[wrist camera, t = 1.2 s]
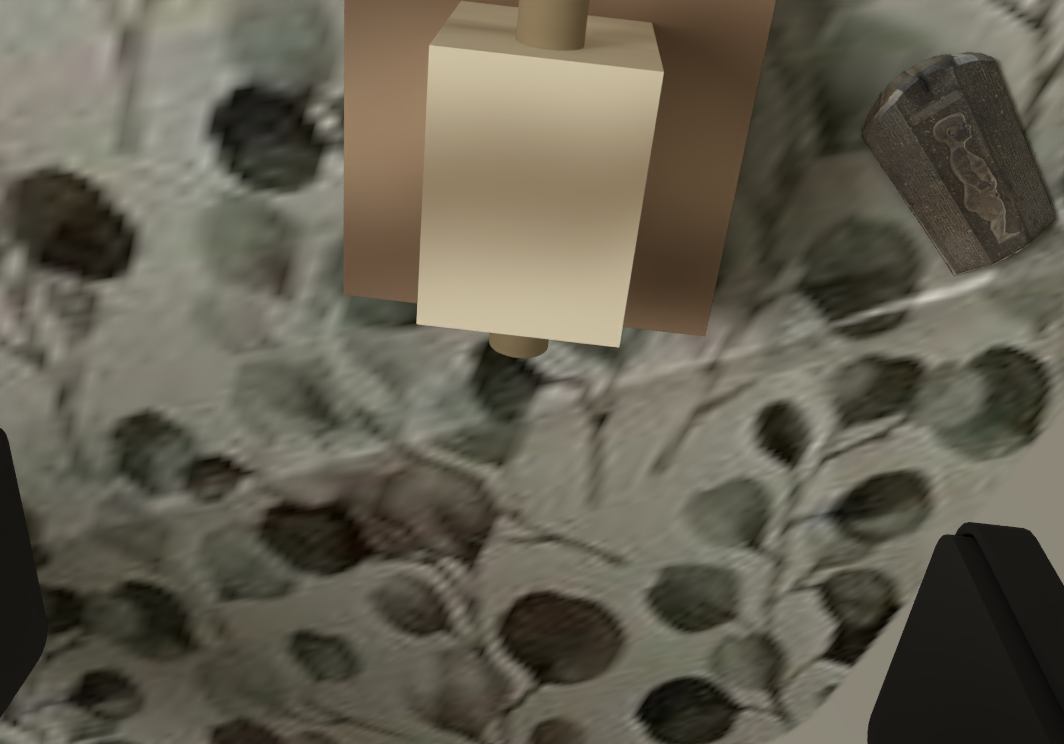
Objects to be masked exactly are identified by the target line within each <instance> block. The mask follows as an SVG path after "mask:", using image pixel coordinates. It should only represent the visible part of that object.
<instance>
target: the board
mask: <svg viewBox="0 0 1064 744" xmlns="http://www.w3.org/2000/svg"><path fill="white" fill-rule="evenodd" d="M461 1H467V2H476V3H485V4H494V5H502V6H511V7H519V0H345V10H344V295H351V296H360V297H368V298H377V299H386V300H394V301H403V302H412V303H418V282H419V260H420V237H421V215H422V193H423V171H424V148H425V126H426V104H427V82H428V59H429V45H430V43H431V42H432V40H433V39H434V38H435V36H436V35H437V33H438V32H439V31H440V29H441V28H442V27H443V25H444V24H445V22H446V21H447V20H448V18H449V17H450V15H451V14H452V13H453V11H454V10H455V8H456V7H457V6H458V4H459V3H460V2H461ZM775 3H776V0H590V2H589V10H588V15H590V16H599V17H607V18H616V19H625V20H634V21H642V22H651V23H652V25H653V29H654V33H655V37H656V42H657V46H658V50H659V54H660V58H661V62H662V66H663V70H664V75H663V81H662V87H661V93H660V99H659V105H658V112H657V118H656V124H655V130H654V136H653V142H652V148H651V155H650V161H649V167H648V173H647V179H646V185H645V192H644V198H643V204H642V210H641V216H640V222H639V228H638V235H637V241H636V247H635V253H634V259H633V265H632V272H631V278H630V284H629V290H628V296H627V302H626V308H625V315H624V321H623V327H629V328H638V329H646V330H655V331H664V332H672V333H681V334H690V335H698V336H705V335H706V330H707V325H708V321H709V316H710V311H711V306H712V302H713V297H714V292H715V287H716V283H717V278H718V273H719V268H720V264H721V259H722V254H723V249H724V245H725V240H726V235H727V230H728V226H729V221H730V216H731V211H732V207H733V202H734V197H735V192H736V188H737V183H738V178H739V174H740V169H741V164H742V159H743V155H744V150H745V145H746V140H747V136H748V131H749V126H750V121H751V117H752V112H753V107H754V102H755V98H756V93H757V88H758V83H759V79H760V74H761V69H762V64H763V60H764V55H765V50H766V45H767V41H768V36H769V31H770V26H771V22H772V17H773V12H774V8H775Z"/></svg>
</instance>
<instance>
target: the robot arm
mask: <svg viewBox="0 0 1064 744" xmlns="http://www.w3.org/2000/svg"><path fill="white" fill-rule="evenodd" d="M47 629H48V628H47V619H46V615H45V610H44V605H43V600H42V596H41V591H40V586H39V582H38V577H37V572H36V568H35V563H34V558H33V554H32V549H31V544H30V540H29V535H28V530H27V526H26V521H25V516H24V512H23V507H22V502H21V497H20V493H19V488H18V483H17V479H16V474H15V469H14V465H13V460H12V455H11V451H10V446H9V441H8V438H7V435H6V433H5V432H4V431H3V430H2V429H1V428H0V717H1V716H2V714H3V713H4V711H5V710H6V708H7V707H8V705H9V704H10V702H11V701H12V699H13V698H14V696H15V695H16V693H17V692H18V690H19V689H20V687H21V686H22V684H23V683H24V681H25V680H26V678H27V677H28V675H29V674H30V672H31V671H32V669H33V668H34V666H35V665H36V663H37V662H38V660H39V658H40V656H41V654H42V652H43V649H44V646H45V643H46V638H47ZM867 741H868V744H1064V585H1063V583H1062V582H1061V580H1060V578H1059V576H1058V575H1057V573H1056V571H1055V570H1054V568H1053V566H1052V565H1051V563H1050V561H1049V560H1048V558H1047V556H1046V554H1045V553H1044V551H1043V549H1042V548H1041V546H1040V544H1039V542H1038V540H1037V539H1036V537H1035V536H1034V535H1033V534H1032V533H1031V532H1030V531H1029V530H1027V529H1024V528H1017V527H1009V526H1000V525H990V524H982V523H973V522H968V523H964V524H963V525H962V526H961V527H960V528H959V529H958V530H957V532H956V534H955V535H949V534H947V535H943V536H942V537H941V538H940V539H939V541H938V543H937V544H936V547H935V549H934V552H933V554H932V557H931V560H930V562H929V565H928V568H927V570H926V573H925V575H924V578H923V581H922V583H921V586H920V588H919V591H918V594H917V596H916V599H915V602H914V604H913V607H912V610H911V612H910V615H909V618H908V620H907V623H906V625H905V628H904V630H903V633H902V636H901V638H900V641H899V644H898V646H897V649H896V652H895V654H894V657H893V659H892V662H891V664H890V667H889V670H888V672H887V675H886V677H885V680H884V683H883V685H882V688H881V691H880V693H879V696H878V699H877V701H876V704H875V706H874V709H873V712H872V714H871V717H870V721H869V725H868V739H867Z"/></svg>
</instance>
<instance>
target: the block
mask: <svg viewBox="0 0 1064 744" xmlns="http://www.w3.org/2000/svg"><path fill="white" fill-rule="evenodd" d="M880 95H881V94H880ZM880 95H879V98H878V99H877V101H876V102H875V104H874V106H873V107H872V109H871V111H870V113H869V115H868V117H867V120H866V122H865V125H864V128H863V130H862V138H863V139H864V141H865V142H866V143H867V145H868V146H869V148H870V149H871V151H872V152H873V154H874V155H875V157H876V158H877V160H878V161H879V163H880V164H881V166H882V168H883V169H884V171H885V172H886V173H887V175H888V177H889V178H890V180H891V181H892V183H893V184H894V186H895V187H896V188H897V190H898V191H899V193H900V194H901V196H902V197H903V199H904V200H905V202H906V203H907V205H908V206H909V208H910V209H911V211H912V212H913V214H914V215H915V217H916V218H917V220H918V221H919V223H920V224H921V226H922V227H923V229H924V230H925V232H926V233H927V235H928V236H929V238H930V239H931V241H932V243H933V244H934V246H935V247H936V249H937V250H938V252H939V253H940V255H941V256H942V258H943V259H944V261H945V262H946V264H947V265H948V267H949V269H950V271H951V272H952V274H953V275H954V276H955V275H957V274H962V273H965V272H969V271H972V270H975V269H979V268H983V267H987V266H990V265H994V264H996V263H997V262H999V261H1001V260H1003V259H1006V258H1007V257H1009V256H1010V255H1012V254H1014V253H1016V252H1019V251H1020V250H1022V249H1023V248H1025V247H1026V246H1028V245H1029V244H1031V243H1032V242H1033V240H1034V239H1035V238H1036V237H1037V236H1038V235H1039V234H1040V233H1041V232H1042V231H1043V230H1044V229H1045V228H1046V227H1047V226H1048V225H1049V224H1050V223H1051V222H1052V221H1053V220H1054V219H1055V214H1054V212H1053V209H1052V207H1051V205H1050V202H1049V200H1048V197H1047V194H1046V192H1045V189H1044V187H1043V184H1042V182H1041V180H1040V177H1039V174H1038V171H1037V169H1036V166H1035V164H1034V161H1033V159H1032V156H1031V154H1030V151H1029V148H1028V146H1027V143H1026V141H1025V139H1024V136H1023V133H1022V131H1021V128H1020V126H1019V123H1018V121H1017V118H1016V116H1015V113H1014V110H1013V107H1012V105H1011V102H1010V100H1009V97H1008V95H1007V92H1006V89H1005V87H1004V84H1003V81H1002V79H1001V77H1000V74H999V72H998V69H997V66H996V64H995V61H994V59H993V58H991V56H990V57H988V56H986V55H983V54H981V53H972V52H966V53H962V54H949V55H940V56H934V57H932V58H930V59H927V60H924V61H922V62H920V63H918V64H916V65H914V66H913V67H911V68H909V69H908V70H906V71H904V72H902V73H901V74H900V75H899V76H898V77H897V78H896V79H895V80H894V81H892V82H891V83H890V84H889V85H888V86H887V88H886V89H885V91H884V92H883V94H882V96H881V97H880ZM861 129H862V128H861Z"/></svg>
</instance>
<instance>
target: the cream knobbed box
mask: <svg viewBox="0 0 1064 744" xmlns="http://www.w3.org/2000/svg"><path fill="white" fill-rule="evenodd" d="M589 2H590V0H519V7H511V6H502V5H494V4H485V3H476V2H467V1H461V2H460V3H459V4H458V6H457V7H456V8H455V10H454V11H453V13H452V14H451V15H450V17H449V18H448V20H447V21H446V22H445V24H444V25H443V27H442V28H441V29H440V31H439V32H438V33H437V35H436V36H435V38H434V39H433V40H432V42H431V43H430V45H429V59H428V82H427V104H426V126H425V148H424V171H423V193H422V215H421V237H420V260H419V282H418V304H417V324H420V325H429V326H438V327H446V328H455V329H464V330H472V331H481V332H490V339H489V343H490V346H491V347H492V348H493V349H494V350H495V351H497V352H499V353H501V354H503V355H506V356H510V357H516V358H531V357H536V356H539V355H541V354H543V353H544V352H545V351H546V350H547V348H548V340H549V339H550V340H559V341H568V342H577V343H585V344H594V345H603V346H611V347H619V345H620V339H621V333H622V327H623V321H624V315H625V308H626V302H627V296H628V290H629V284H630V278H631V272H632V265H633V259H634V253H635V247H636V241H637V235H638V228H639V222H640V216H641V210H642V204H643V198H644V192H645V185H646V179H647V173H648V167H649V161H650V155H651V148H652V142H653V136H654V130H655V124H656V118H657V112H658V105H659V99H660V93H661V87H662V81H663V75H664V70H663V66H662V62H661V58H660V54H659V50H658V46H657V42H656V37H655V33H654V29H653V25H652V23H651V22H642V21H634V20H625V19H616V18H607V17H599V16H590V15H588V10H589Z"/></svg>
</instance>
